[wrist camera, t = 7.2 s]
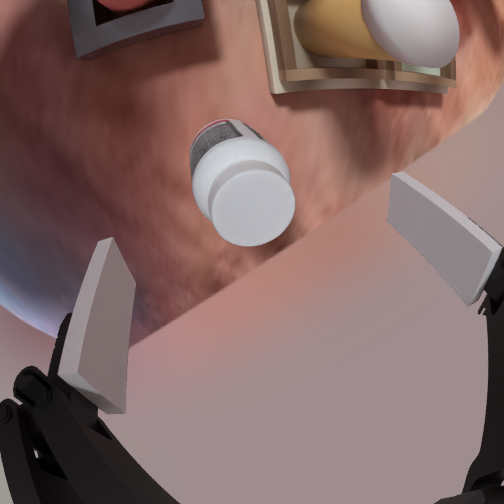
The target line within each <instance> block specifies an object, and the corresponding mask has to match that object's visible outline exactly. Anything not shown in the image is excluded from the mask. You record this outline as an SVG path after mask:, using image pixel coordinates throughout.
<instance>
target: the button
mask: <svg viewBox="0 0 504 504" xmlns="http://www.w3.org/2000/svg"><path fill="white" fill-rule="evenodd" d="M97 1H99V2H100V3H101V4H103V5H104V6H105V7H107V8H108V9H109V10H110V11H112V12H113V13H115V14H117V15H120V16H126V15H129V14H132V13H135V12H139V11H142V10H145V9H149V8H152V7H153V6H154V5H156V4H157V3H158V1H159V0H97Z"/></svg>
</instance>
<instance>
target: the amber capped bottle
mask: <svg viewBox="0 0 504 504" xmlns="http://www.w3.org/2000/svg"><path fill="white" fill-rule="evenodd" d="M293 28H294V32H295V35H296V37H297V39H298V40H299V42H300V43H301V44H302V46H303V47H304V48H306V49H307V50H308V51H309V52H311V53H313V54H315V55H317V56H320V57H324V58H358V59H376V60H389V61H399V62H402V63H405V64H409V65H415V66H421V67H427V68H441V67H444V66H446V65H447V64H449V63H450V62H451V61H452V59H453V58H454V56H455V55H456V52H457V49H458V45H459V26H458V21H457V17H456V14H455V11H454V9H453V6H452V4H451V3H450V1H449V0H309V1H307V2H305V3H303V4H302V5H301V6H300V7H299V8H298V9H297V10H296V12H295V15H294V18H293Z"/></svg>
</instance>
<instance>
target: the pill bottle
mask: <svg viewBox="0 0 504 504" xmlns="http://www.w3.org/2000/svg"><path fill="white" fill-rule="evenodd" d="M190 167H191V177H192V190H193V195H194V198H195V201H196V204H197V206H198V208H199V209H200V211H201V212H202V213H203V215H204V216H205V217H206V218H207V219H209V220H210V221H211V222H212V223H213V225H214V227H215V229H216V231H217V232H218V233H219V235H220V236H221V237H223V238H224V239H225V240H227V241H228V242H230V243H233V244H235V245H239V246H247V247H251V246H258V245H262V244H265V243H267V242H270V241H271V240H273V239H275V238H277V237H278V236H279V235H280V234H281V233H282V232H283V231H284V230H285V229H286V228H287V227H288V225H289V224H290V222H291V220H292V218H293V215H294V211H295V197H294V193H293V190H292V188H291V186H290V173H289V168H288V166H287V163H286V161H285V159H284V158H283V156H282V155H281V154H280V152H279V151H278V150H277V149H276V148H275V147H274V146H272V145H271V144H270V143H269V142H268V141H267V140H266V139H264V138H263V137H262V136H261V135H260V134H259V133H257V132H256V131H255V130H254V129H253V128H251V127H250V126H249V125H247V124H245V123H244V122H242V121H239V120H235V119H219V120H215V121H213V122H211V123H209V124H207V125H206V126H204V127H203V128H202V129H201V130H200V131H199V132H198V133H197V134H196V136H195V137H194V139H193V141H192V144H191V148H190Z"/></svg>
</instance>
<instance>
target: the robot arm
mask: <svg viewBox="0 0 504 504" xmlns="http://www.w3.org/2000/svg"><path fill="white" fill-rule="evenodd" d="M387 222H388V223H389V224H390V225H391V226H392V227H393V228H394V229H396V230H397V231H398V232H399V233H400V234H401V235H402V236H403V237H404V238H405V239H406V240H407V241H408V242H409V243H410V244H411V245H412V246H413V247H414V248H415V249H416V250H417V251H418V252H419V253H420V254H421V255H422V256H423V257H424V258H425V259H426V260H427V262H428V263H429V264H430V265H431V266H432V267H433V268H434V269H435V270H436V271H437V272H438V273H439V274H440V276H441V277H442V278H443V279H444V280H445V281H446V282H447V283H448V284H449V286H450V287H451V288H452V289H453V290H454V291H455V293H456V294H457V295H458V296H459V297H460V298H461V299H462V301H463V302H464V303H465V304H466V305H467V307H468V306H470V305H472V304H473V303H475V302H477V301H478V300H479V298H480V296H481V294H482V292H483V290H485V291H486V293H487V295H486V297H485V299H484V301H483V303H482V305H481V306H480V308H479V310H478V314H480V313H481V311H482V310H483V308H486V309H485V311H484V313H483V315H485V316H486V318H487V333H488V366H489V367H488V392H487V405H486V415H485V424H484V431H483V437H482V443H481V448H480V452H479V454H478V456H477V457H476V459H475V460H474V461H473V463H472V464H471V466H470V468H469V471H468V474H467V477H466V481H465V484H464V488H463V491H462V494H460V495H457V496H454V497H449V498H444V499H440V500H439V501H437V502H436V503H434V504H504V486H501V483H502V482H503V480H504V247H503V246H502V245H500V244H499V243H498V242H497V241H496V240H495V239H494V238H493V237H491V236H490V235H489V234H488V233H487V232H486V231H484V230H483V229H482V228H481V227H480V226H478V225H477V224H476V223H475V222H474V221H472V220H471V219H470V218H468V217H466V216H465V215H464V214H462V213H461V212H460V211H459V210H457V209H456V208H455V207H453V206H452V205H451V204H449V203H448V202H447V201H445V200H444V199H443V198H441V197H440V196H438V195H437V194H436V193H434V192H433V191H431V190H430V189H428V188H427V187H425V186H424V185H422V184H421V183H419V182H418V181H416V180H415V179H413V178H412V177H410V176H408V175H407V174H406V173H404V172H399V173H392V175H391V187H390V198H389V207H388V215H387ZM135 288H136V282H135V280H134V278H133V276H132V274H131V273H130V271H129V269H128V267H127V265H126V263H125V261H124V259H123V257H122V255H121V252H120V250H119V248H118V246H117V244H116V242H115V240H114V238H113V237H110V238H107V239H104V240H101V241H98V243H97V246H96V248H95V251H94V253H93V256H92V258H91V261H90V264H89V266H88V269H87V272H86V274H85V277H84V280H83V283H82V286H81V289H80V292H79V295H78V298H77V301H76V304H75V307H74V311H73V313H68V314H67V315H66V317H65V319H64V320H63V322H62V323H61V325H60V329H59V332H58V335H57V336H58V338H57V339H56V343H55V348H54V350H53V354H52V358H51V363H50V367H49V372H48V376H46V375H45V374H43V373H42V372H41V371H40V370H39V369H38V368H37V367H34V366H28V367H26V368H24V369H23V370H21V372H20V373H19V374H18V375H17V377H16V380H15V382H14V387H13V393H14V397H15V398H17V399H18V400H20V401H21V402H22V403H23V404H21V405H18V404H17V403H16V402H14V401H13V400H12V399H5V400H3V401H2V402H1V403H0V453H1V458H2V463H3V467H4V472H5V476H6V480H7V483H8V487H9V491H10V494H11V497H12V500H13V503H14V504H180V503H179V502H177V501H176V500H175V499H174V498H173V497H172V496H170V494H168V493H167V492H166V491H165V490H164V489H163V488H162V487H161V486H160V485H159V484H158V483H157V482H156V481H155V480H154V479H153V478H152V477H151V476H149V474H148V473H147V472H146V471H145V470H144V469H143V468H142V467H141V466H140V465H139V464H138V463H137V462H136V461H135V459H134V458H133V457H132V456H131V455H130V454H129V453H128V452H127V450H126V449H125V448H124V447H123V446H122V445H121V443H120V442H119V441H118V440H117V438H116V437H115V436H114V435H113V434H112V432H111V431H110V430H109V429H108V427H107V426H106V425H105V423H104V422H103V421H102V420H101V419H100V418H99V417H98V408H99V409H101V410H102V411H103V412H105V413H106V414H122V413H126V380H127V363H128V350H129V338H130V328H131V319H132V311H133V303H134V295H135ZM34 450H35V451H37V453H38V458H36V456H35V453H34Z"/></svg>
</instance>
